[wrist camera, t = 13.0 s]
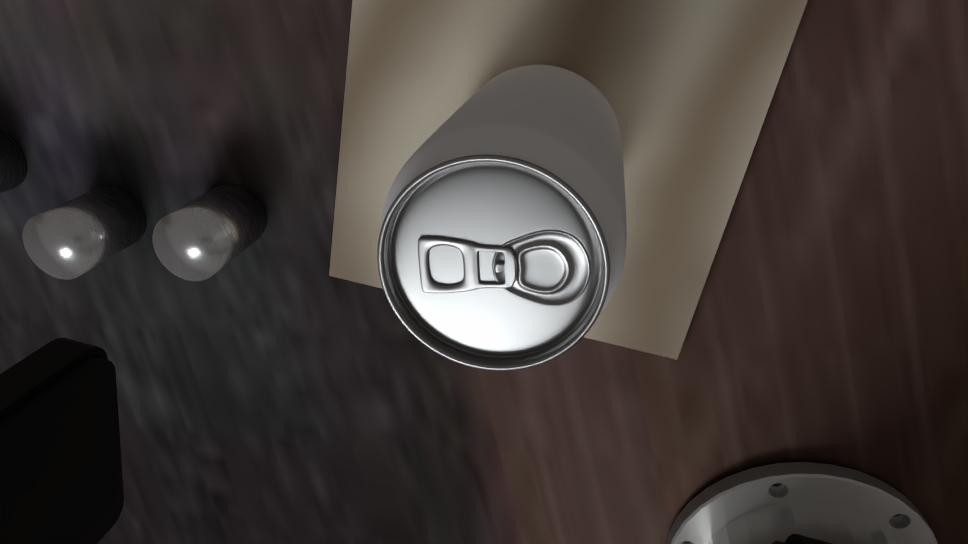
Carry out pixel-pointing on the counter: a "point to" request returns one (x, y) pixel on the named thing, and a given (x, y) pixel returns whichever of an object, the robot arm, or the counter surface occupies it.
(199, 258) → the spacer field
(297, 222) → the counter surface
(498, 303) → the can
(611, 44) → the board
